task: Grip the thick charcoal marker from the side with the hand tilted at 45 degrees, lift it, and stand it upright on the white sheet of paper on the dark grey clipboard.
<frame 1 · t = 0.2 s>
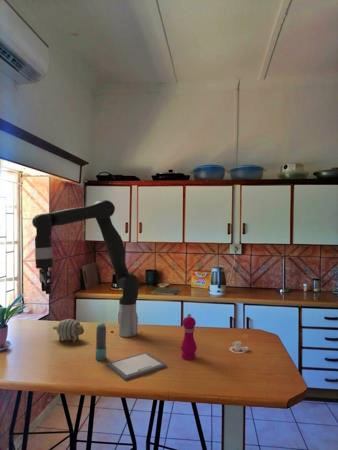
hand: (46, 292, 147), 29 cm above the table, tool pointing down, fingers open, 8 cm apart
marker: (100, 358, 144), on the table
clipboard: (136, 366, 136), on the table
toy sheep: (68, 340, 165), on the table
pepper mill: (188, 357, 146), on the table
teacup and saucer: (240, 353, 152), on the table
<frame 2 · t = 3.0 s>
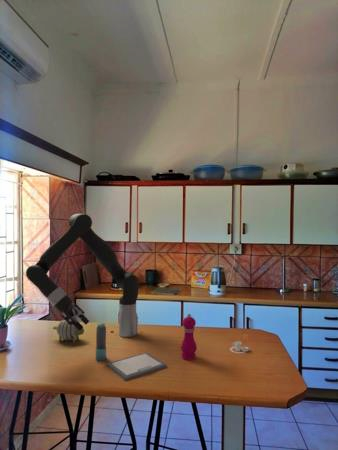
hand: (84, 325, 144), 14 cm above the table, tool tilted 45°, fingers open, 8 cm apart
nothing on the table moved.
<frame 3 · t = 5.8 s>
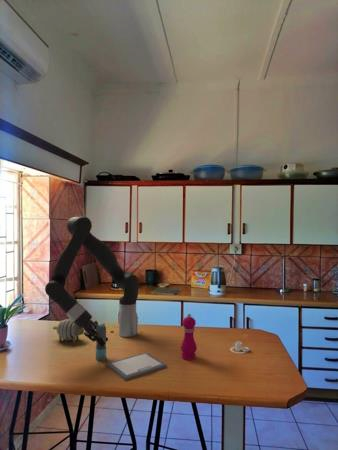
hand: (105, 342, 143), 7 cm above the table, tool tilted 45°, fingers closed on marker, 4 cm apart
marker: (100, 358, 144), on the table, touching gripper
everything else where it was.
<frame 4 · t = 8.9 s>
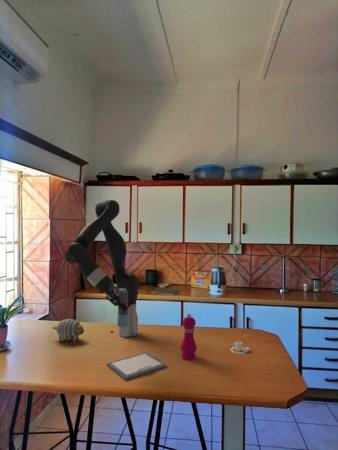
hand: (127, 308, 138), 24 cm above the table, tool tilted 45°, fingers closed on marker, 4 cm apart
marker: (122, 324, 138), point 17 cm above the table, touching gripper
everything else where it was.
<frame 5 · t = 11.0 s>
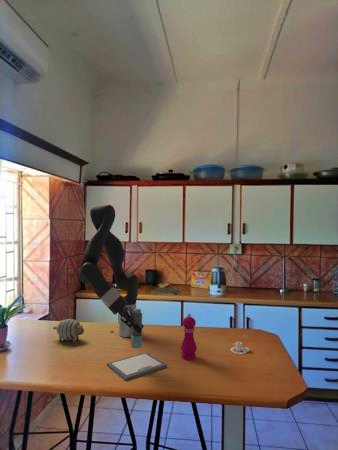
hand: (141, 329, 136), 16 cm above the table, tool tilted 45°, fingers closed on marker, 4 cm apart
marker: (136, 346, 136), point 9 cm above the table, touching gripper
everything else where it was.
when the fingers open (10 cm above the table, at t = 12.5 s): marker drops 1 cm, resting on clipboard.
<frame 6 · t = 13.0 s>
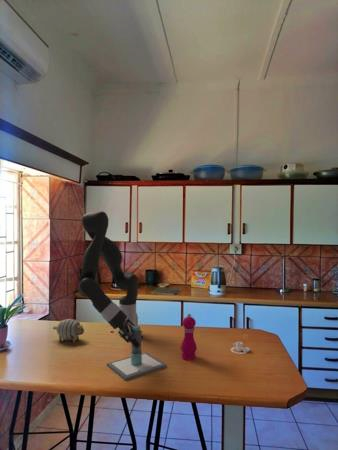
hand: (140, 342, 136), 10 cm above the table, tool tilted 45°, fingers open, 8 cm apart
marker: (136, 363, 136), point 1 cm above the table, touching clipboard
everything else where it was.
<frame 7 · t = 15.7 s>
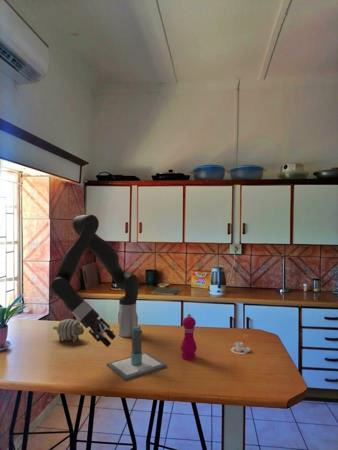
hand: (111, 341, 137), 10 cm above the table, tool tilted 45°, fingers open, 8 cm apart
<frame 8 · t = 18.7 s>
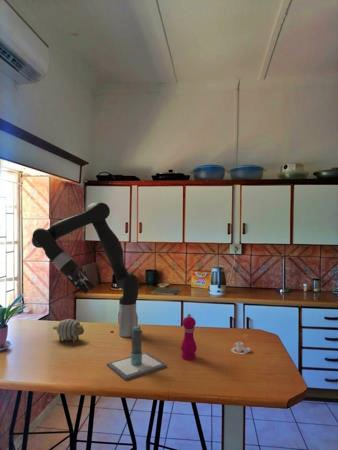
hand: (90, 290, 143), 31 cm above the table, tool tilted 45°, fingers open, 8 cm apart
at the end: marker inside the target area on the clipboard (0.1 cm from its centre), point 1.2 cm above the clipboard's base; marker tilted 0°; the gripper is holding nothing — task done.
